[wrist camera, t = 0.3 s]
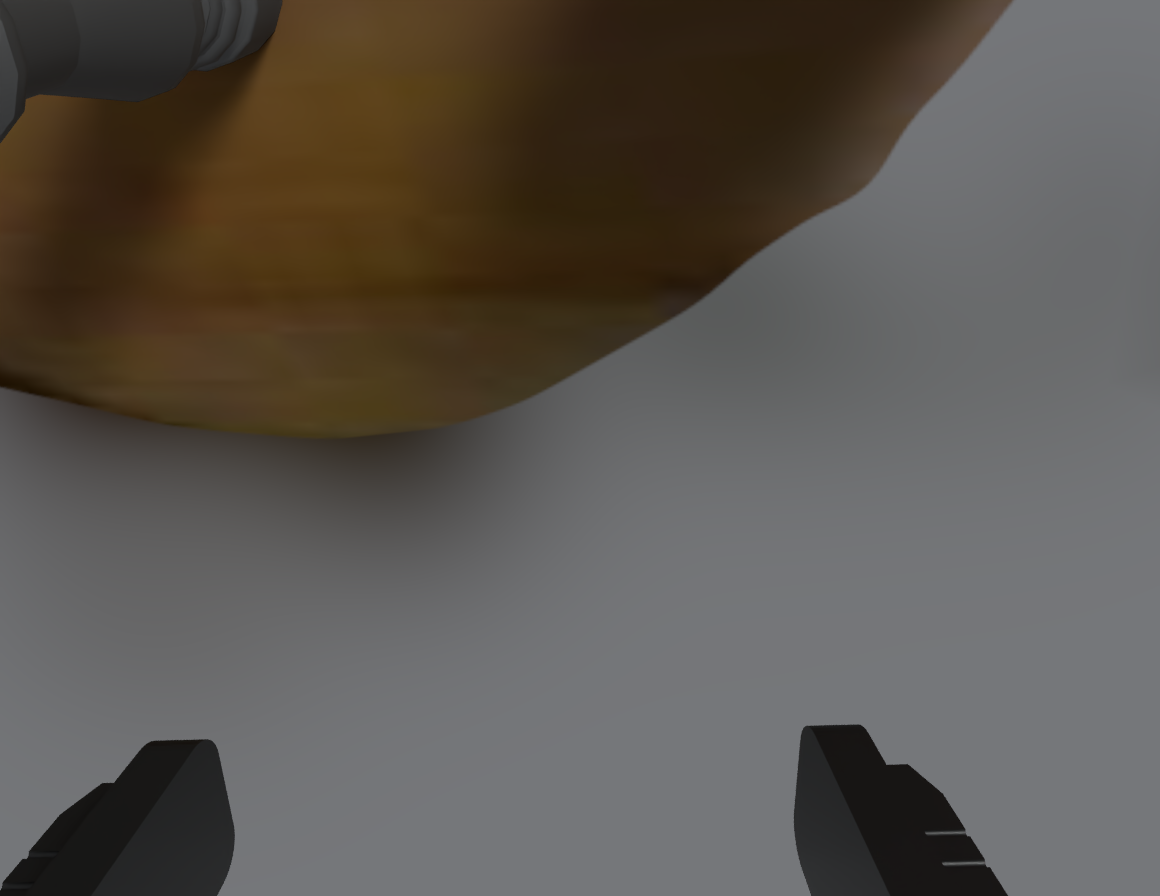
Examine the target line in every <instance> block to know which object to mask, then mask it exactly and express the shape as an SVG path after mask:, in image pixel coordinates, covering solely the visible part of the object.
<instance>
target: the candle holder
mask: <svg viewBox="0 0 1160 896" xmlns="http://www.w3.org/2000/svg"><path fill="white" fill-rule="evenodd" d="M281 6H282V0H0V143H1V142H2V140H3V139H4V138H5V136H6V135H7V134H8V132H9V131H10V130H11V128H12V127H13V126H14V124H15V123H16V122H17V120H18V119H19V118H20V116H21V115H22V114H23V112H24V110H25V101H26V99H27V98H30V97H33V96H36V95H39V94H43V95H56V96H70V97H83V98H97V99H109V100H120V101H131V102H139V101H142V100H144V99H147V98H150V97H153V96H155V95H158V94H161V93H164V92H166V91H169V90H171V89H173V88H175V87H176V86H177V85H178V84H179V83H180V82H181V80H182V79H183V78H184V77H185V76H186V74H187V73H188V72H189V71H192V70H198V71H209V70H212V69H215V68H218V67H220V66H223V65H226V64H229V63H231V62H234V61H236V60H238V59H240V58H243V57H245V56H247V55H249V54H251V53H253V52H255V51H257V50H259V48H260V47H261V46H262V45H263V44H264V43H265V41H266V40H267V39H268V38H269V37H270V36H271V35H272V33H273V32H274V31H275V28H276V25H277V21H278V17H279V13H280V9H281Z"/></svg>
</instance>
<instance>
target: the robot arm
mask: <svg viewBox="0 0 1160 896" xmlns="http://www.w3.org/2000/svg"><path fill="white" fill-rule="evenodd" d="M794 831H795V840H796V846H797V851H798V856H799V860H800V864H801V867H802V870H803V873H804V876H805V879H806V882H807V884H808V887H809V890H810V893H811V896H1008V895H1007V894H1006V892H1005V891H1004V889H1003V887H1002V886H1001V884H1000V882H999V881H998V879H997V878H996V876H995V875H994V873H993V872H992V870H991V868H990V867H986V865H985V859H984V857H983V856H982V854H981V853H980V851H979V850H978V848H977V847H976V845H975V844H974V842H973V840H972V839H971V837H969V836H967V835H966V832H965V828H964V827H963V825H962V823H961V822H960V820H959V818H958V817H957V815H956V814H955V812H954V811H953V809H952V808H951V806H950V804H949V803H948V801H947V800H946V798H945V797H944V795H943V794H942V793H941V792H940V791H939V790H938V789H937V788H935V787H934V786H933V785H932V784H931V783H929V782H928V781H927V780H926V779H925V778H923V777H922V776H921V775H920V774H919V773H918V772H916V771H915V770H914V769H913V768H912V767H911V766H909V765H908V764H900V765H886V763H885V761H884V760H883V758H882V756H881V754H880V753H879V751H878V749H877V747H876V746H875V744H874V742H873V740H872V739H871V737H870V735H869V733H868V732H867V730H866V729H865V728H864V727H863V726H861V725H824V726H822V725H821V726H805V727H804V728H803V730H802V734H801V740H800V751H799V762H798V773H797V785H796V796H795V809H794ZM234 838H235V834H234V825H233V820H232V815H231V811H230V805H229V801H228V796H227V791H226V786H225V781H224V777H223V772H222V767H221V762H220V758H219V753H218V749H217V747H216V745H215V744H214V743H213V741H211V740H208V739H207V740H206V739H205V740H166V741H151V742H149V743H147V744H146V745H145V746H144V747H143V748H142V749H141V750H140V751H139V752H138V754H137V755H136V756H135V757H134V759H133V760H132V761H131V762H130V764H129V765H128V766H127V767H126V768H125V770H124V771H123V772H122V773H121V775H120V776H119V777H118V778H117V780H116V781H115V782H114V783H102V784H101V785H100V786H98V787H96V788H95V789H94V790H92V791H91V792H90V793H88V794H87V795H86V796H85V797H83V798H82V799H80V800H79V801H78V802H76V803H75V804H74V805H72V806H71V807H70V808H68V809H67V810H66V811H64V812H63V813H62V814H60V815H59V817H58V818H57V819H56V820H55V821H54V823H53V824H52V825H51V826H50V827H49V829H48V830H47V831H46V832H45V833H44V834H43V835H42V837H41V838H40V839H39V840H38V842H37V843H36V844H35V845H34V846H33V847H32V848H31V850H30V851H29V856H28V858H27V859H22V860H21V862H20V863H19V864H18V865H17V866H16V867H15V869H14V870H13V871H12V872H11V873H10V874H9V876H8V877H7V878H6V879H5V880H4V882H3V886H2V889H1V890H0V896H217V895H218V892H219V891H220V889H221V887H222V885H223V883H224V881H225V879H226V877H227V874H228V871H229V868H230V865H231V860H232V856H233V851H234V840H235V839H234Z"/></svg>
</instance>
